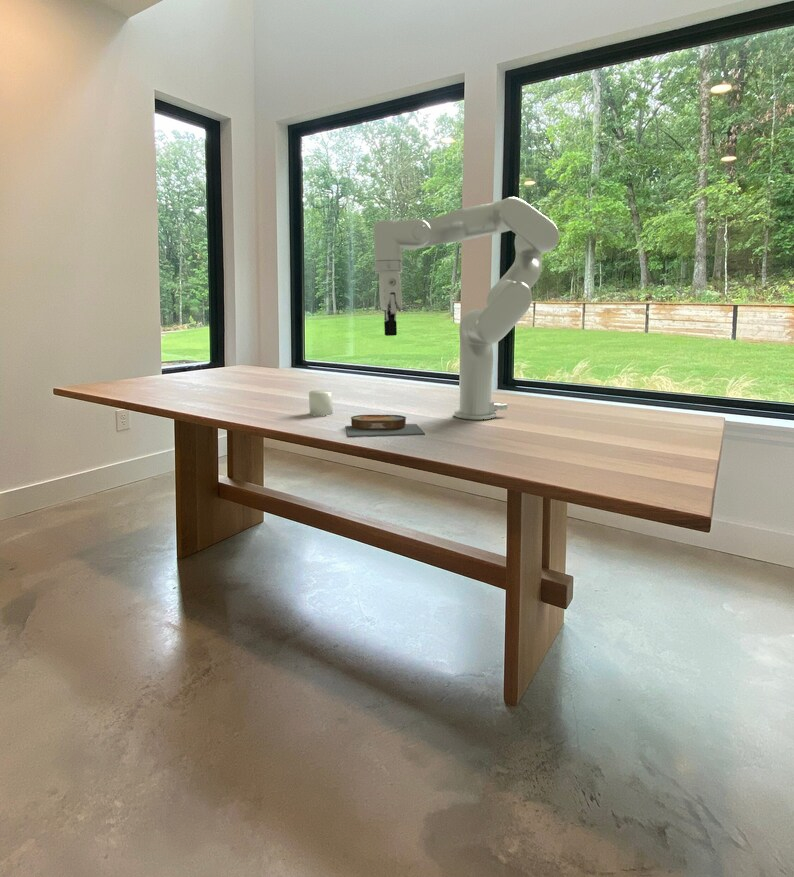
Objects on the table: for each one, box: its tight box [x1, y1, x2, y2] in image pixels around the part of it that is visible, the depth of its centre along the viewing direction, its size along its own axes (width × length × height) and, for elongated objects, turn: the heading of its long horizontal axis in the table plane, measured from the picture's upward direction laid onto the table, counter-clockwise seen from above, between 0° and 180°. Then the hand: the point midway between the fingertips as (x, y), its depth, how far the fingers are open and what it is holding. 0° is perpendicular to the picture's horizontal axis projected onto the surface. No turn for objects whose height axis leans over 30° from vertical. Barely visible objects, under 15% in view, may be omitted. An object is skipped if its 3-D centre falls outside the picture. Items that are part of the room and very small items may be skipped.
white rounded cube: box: [308, 389, 334, 417], centre depth 181 cm, size 7×7×7 cm
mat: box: [344, 423, 426, 438], centre depth 158 cm, size 20×12×1 cm, turn 99°
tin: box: [350, 414, 407, 429], centre depth 161 cm, size 15×3×8 cm
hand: (390, 335), depth 167 cm, fingers closed
